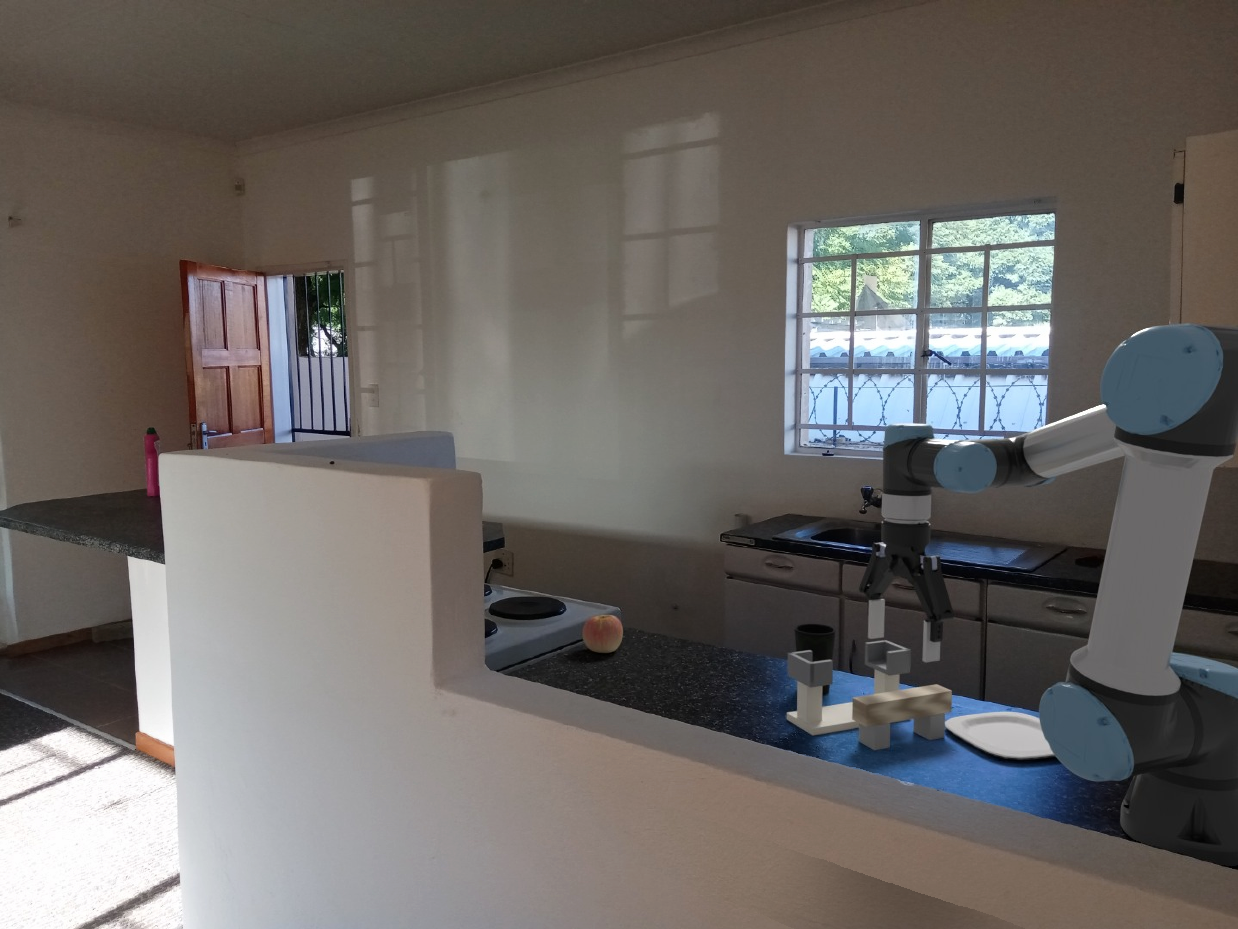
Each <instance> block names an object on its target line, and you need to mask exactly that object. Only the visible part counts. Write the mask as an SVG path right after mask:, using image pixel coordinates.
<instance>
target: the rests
mask: <svg viewBox="0 0 1238 929" xmlns="http://www.w3.org/2000/svg"><path fill="white" fill-rule="evenodd" d="M945 721H946V713H943V714H938V715H932V716H926V717H920V718H915V719H913V731H912V732H914V733H916V734H918V735H919V736H921V737H923V738H926V739H927V740H929V741H933V740H937V739H942V738H945V731H946V727H945ZM858 742H860V743H861V744H863V745H864V746H866V747H868V748H870V749H871V750H873V751H878V750H884V749H890V748H891V747H890V744H891V723H886V724H880V725H874V726H868V727H865V726H864V725H862V724H860V723H859V728H858Z"/></svg>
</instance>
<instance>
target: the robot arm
mask: <svg viewBox="0 0 1238 929" xmlns="http://www.w3.org/2000/svg"><path fill="white" fill-rule="evenodd" d="M1100 378H1101V379H1100V383H1099V386H1100V387H1099V393H1100V401H1101V404H1100V405H1097V406H1094V407H1091V408H1089V409H1087V410H1084V411H1082V412H1078V413H1076V414H1073V415H1070V416H1068V417H1065V418H1063V419H1060V420H1057V421H1055V422H1051V423H1049V424H1047V425H1043V426H1041V427H1039V428H1035V429H1033V430H1032V431H1028V432H1025V433H1023V434H1020V435H1017V436H1013V437H1008V438H1006V437H1005V438H978V439H977V438H976V439H975V438H973V439H946V438H945V439H943V438H942V439H941V438H935V434H934V427H933V426H932V425H931V424H929V423H916V422H915V423H912V422H910V423H909V422H906V423H904V422H903V423H900V422H899V423H891V424H890V423H889V424H888V425H887V426H886V427H885V430H884V436H883V437H884V438H883V439H884V440H883V447H882V495H881V516H882V517H883V518H885V519H883V520H882V521H881V533H880V534H881V536H880V537H881V538H880V540H881V542H873V543H872V544H871V555H870V557H869V560H868V564H867V566H866V568H865V571H864V574H863V577H862V578H861V579H862V580H861V582H860V585H859V587H858V590H859V593H861V594H864V596H865V598H866V599H867V611H866V612H867V617H868V618H867V619H868V620H867V621H868V623H867V625H868V626H867V627H868V628H867V629H868V630H867V638H868V639H870V640H873V639H881V638H882V639H883V638H885V610H886V609H885V608H886V605H885V604H886V599H884V598H885V595H884V594H885V592H886V591H887V589H888V588H889V587H890V585H891V584H892V582H893V581H894V579H895V578H896V577H898V576H899V577H900V578H901V579H904V580H907V582H908V584H911V586H912V587H913V589H914V592H915V594H916V596H917V598H918V600H919V602H920V604H921V607H922V609H923V611H924V613H925V616H926V618H925V619H924V620H923V634H922V637H923V638H922V662H924V663H931V662H938V661H941V660H940V659H941V642H942V641H943V636H944V634H943V632H944V622H945V621H948V620H953V619H954V618H955V613H954V610H953V606H952V603H951V599H950V597H949V593H948V589H947V586H946V583H945V582H946V581H945V579H944V575H943V572H942V559H941V557H940V555H932V556H931V555H930V556H929V555H927V554H926V547H927V546H929V545H930V543H931V527H932V526H931V523H930V521H928V520H929V519H931V517H932V514H931V513H932V494H933V492H932V491H933V488H934V489H940V490H944V491H945V490H946V491H950V492H953V493H954V494H955V493H957V494H961V493H965V494H977V493H980V492H982V491H983V490H986V489H997V488H1013V487H1026V488H1031V487H1032V488H1033V487H1037V486H1042V485H1043V486H1044V485H1047V484H1048V485H1049V484H1050V483H1053V482H1054V481H1055V479H1056V478H1057V477H1058V476H1061V475H1065V474H1067V473H1070V472H1075V471H1077V470H1081V469H1084V468H1088V467H1090V466H1094V465H1098V464H1100V463H1101V464H1102V463H1105V462H1108V461H1111V460H1115V459H1117V458H1121V457H1124V460H1123V461H1124V462H1123V466H1122V471H1121V477H1120V482H1119V486H1118V492H1117V497H1116V500H1115V501H1116V502H1115V506H1114V512H1113V516H1112V522H1111V527H1110V532H1109V537H1108V542H1107V547H1106V552H1105V556H1104V561H1103V566H1102V571H1101V576H1100V581H1099V586H1098V591H1097V597H1096V601H1095V607H1094V612H1093V616H1092V621H1091V626H1090V632H1089V634H1088V636H1089V637H1088V642H1087V644H1085V645H1084V646H1082V647H1080V648H1078V649H1076V650H1074V651H1073V652H1072V653H1071V656H1070V659H1069V663H1068V669H1067V674H1066V679H1065V681H1059V682H1056V683H1055V684H1054V685H1052V686H1051V687H1049V688H1047V689H1046V690H1045V691H1044V693H1043V694H1042V696H1041V698H1040V702H1039V706H1038V718H1039V719H1040V725H1041V729H1042V732H1043V735H1044V737H1045V739H1046V740H1047V742H1048V743H1049V746H1050V749H1051V750H1052V752H1053V753H1054V755H1055V756H1056V757H1055V758H1057V760H1058V761H1059V762H1060V763H1061V765H1063V766H1064V767H1065V768H1067V770H1068V771H1070V772H1071V773H1073V774H1074V775H1076V776H1078V777H1080V778H1082V779H1084V780H1088V781H1091V782H1108V781H1117V782H1119V781H1123V780H1126V779H1129V778H1130V777H1133V778H1132V780H1131V782H1130V784H1129V787H1128V789H1127V791H1126V793H1125V796H1124V799H1123V800H1122V803H1121V806H1120V818H1119V819H1120V821H1119V824H1120V826H1121V828H1122V830H1123V831H1124V832H1125V833H1126V835H1128V836H1129V837H1130V838H1131V839H1133V840H1134V841H1135V840H1136V842H1137V841H1139V842H1141V843H1145V844H1147V845H1151V846H1156V847H1160V848H1164V849H1167V850H1170V851H1172V852H1180V853H1183V854H1186V855H1189V856H1192V857H1195V858H1197V859H1203V860H1208V861H1210V862H1214V863H1217V864H1220V865H1226V866H1225V867H1235V866H1236V867H1238V866H1237V865H1238V667H1235V666H1232V665H1230V664H1227V663H1225V662H1224V663H1223V662H1220V661H1217V660H1214V659H1210V658H1204V657H1202V656H1196V655H1190V654H1185V653H1179V652H1178V653H1177V652H1174V651H1173V650H1174V646H1175V641H1176V636H1177V632H1178V628H1179V624H1180V620H1181V614H1182V611H1183V607H1184V606H1183V605H1184V602H1185V596H1186V592H1187V587H1188V584H1189V579H1190V574H1191V570H1192V566H1193V562H1194V561H1193V560H1194V557H1195V553H1196V548H1197V544H1198V540H1199V536H1200V530H1201V526H1202V523H1203V522H1202V521H1203V518H1204V513H1205V508H1206V504H1207V499H1208V496H1209V491H1210V487H1211V482H1212V478H1213V474H1214V470H1215V469H1216V468H1217V467H1218V466H1220V465H1222V464H1223V463H1225V462H1227V461H1229V460H1231V459H1232V458H1234V455H1235V452H1236V447H1237V442H1238V325H1215V324H1214V325H1213V324H1212V325H1211V324H1193V323H1190V322H1189V323H1174V324H1167V325H1165V324H1164V325H1156V326H1155V325H1154V326H1151V327H1147V328H1144V329H1142V330H1139V331H1137V332H1135V333H1134V334H1133V335H1131V336H1130V337H1128V338H1127V339H1126V340H1124V341H1122V342H1121V343H1120V344H1119V345H1118V346H1117V347H1116V348H1115V350H1114V351H1113V352H1112V354H1111V355H1110V357H1109V358H1108V360H1107V362H1106V364H1105V367H1104V369H1103V371H1102V374H1101V377H1100ZM1139 842H1138V843H1139Z"/></svg>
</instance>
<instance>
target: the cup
mask: <svg viewBox="0 0 1238 929" xmlns="http://www.w3.org/2000/svg"><path fill="white" fill-rule="evenodd" d="M793 630H794V641H795V642H794V643H795V650H796V651H795V652H799V651H807V650H811V651H812V662H816V661H823V660H832V661H833V658H834V649H835V640H836V639H835V638H836V633H837V632H836V629H835V627H833V626H830V625H827V624H822V623H803V624H798V625H796V626H794V629H793ZM830 686H831V685H824V686H822V696H823V695H827V694H829V693H830Z"/></svg>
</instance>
